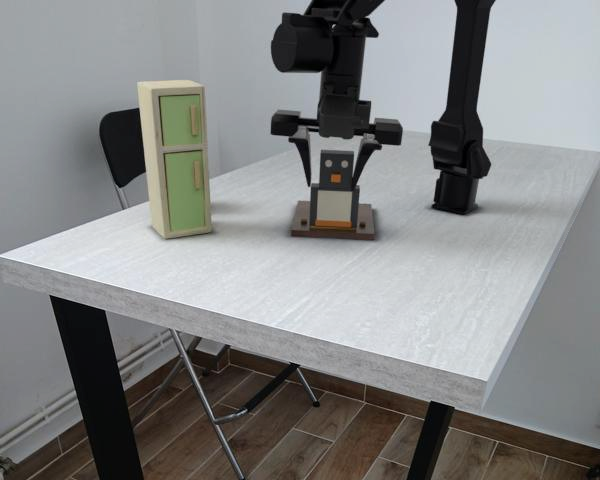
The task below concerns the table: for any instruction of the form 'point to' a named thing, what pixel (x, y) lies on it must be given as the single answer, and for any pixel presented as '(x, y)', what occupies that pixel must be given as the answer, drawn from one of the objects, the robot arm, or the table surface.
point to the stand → (361, 232)
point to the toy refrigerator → (176, 156)
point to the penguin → (334, 191)
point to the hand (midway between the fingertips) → (331, 188)
